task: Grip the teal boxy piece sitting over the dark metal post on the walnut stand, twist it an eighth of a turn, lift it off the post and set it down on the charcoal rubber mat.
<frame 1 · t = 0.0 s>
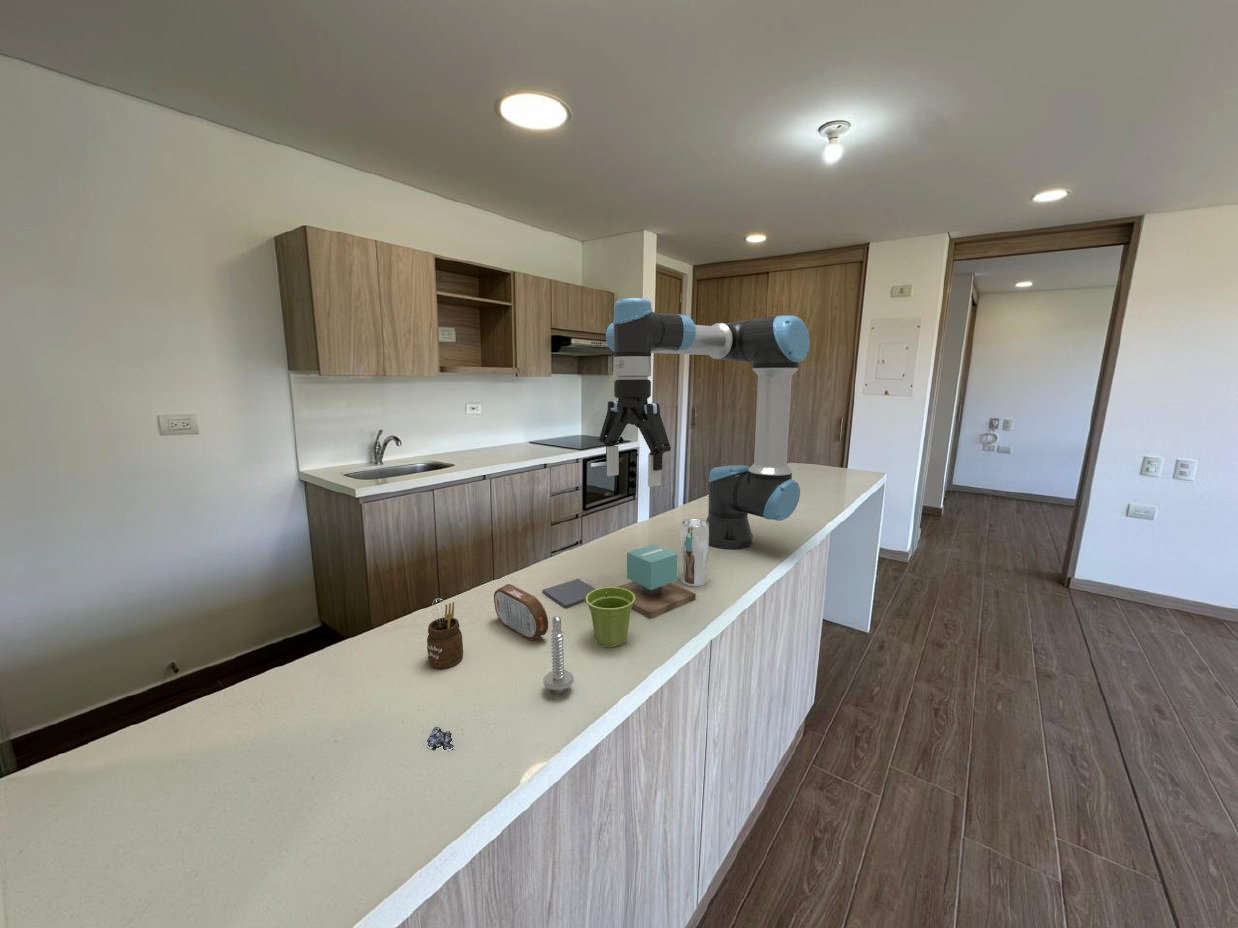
hand: (632, 480, 103), 28 cm above the counter, tool pointing down, fingers open, 13 cm apart
beer glass: (693, 582, 119), on the counter
utensil holder: (446, 661, 87), on the counter
teal boxy piece: (651, 579, 110), point 4 cm above the counter, touching post stand
mat: (572, 594, 112), on the counter
screw: (558, 691, 78), on the counter
tin: (520, 631, 97), on the counter
grey lumpy piece: (445, 743, 68), on the counter
plant pot: (610, 640, 93), on the counter
post stand: (651, 597, 110), on the counter
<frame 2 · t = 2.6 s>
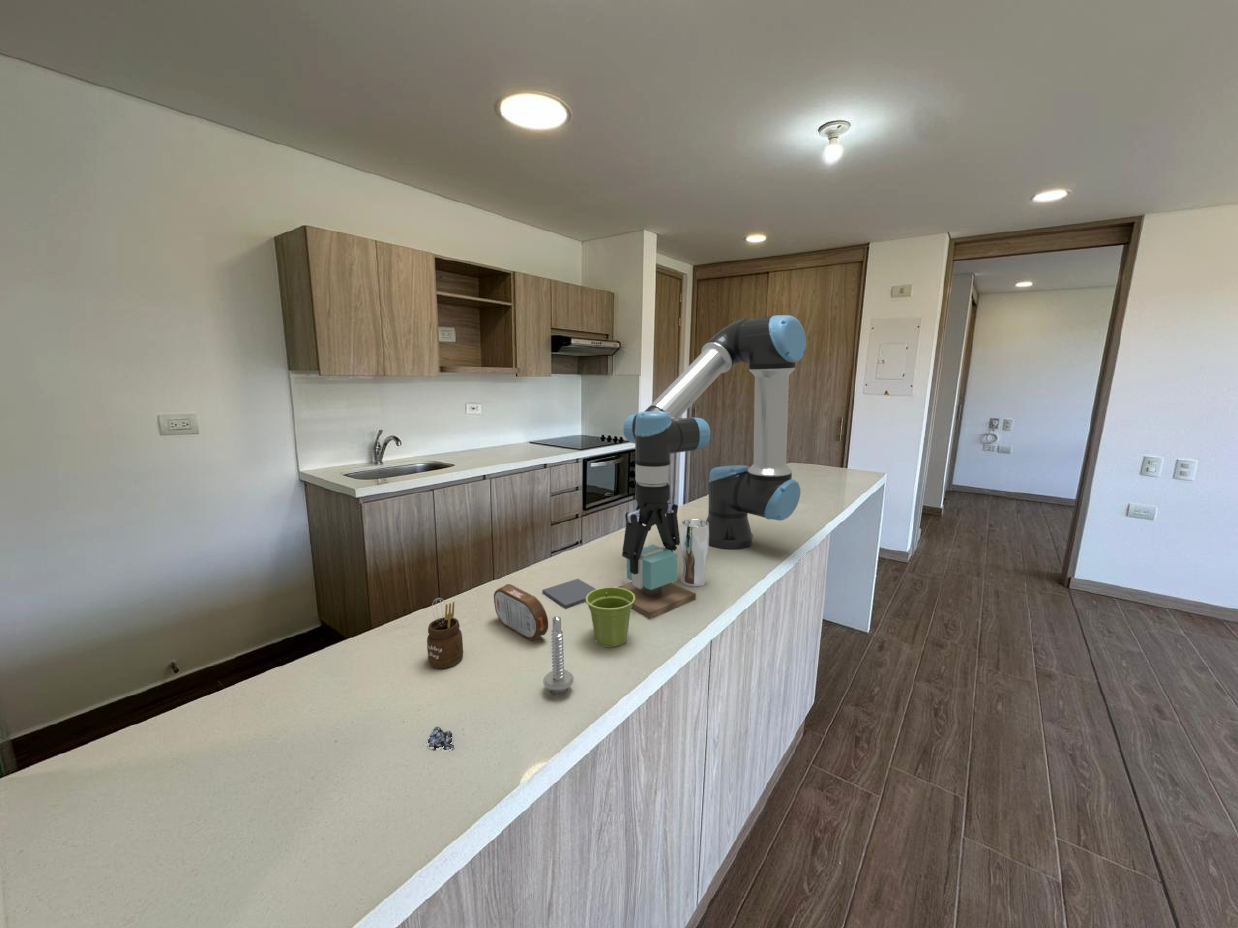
hand: (651, 581, 110), 4 cm above the counter, tool pointing down, fingers closed on teal boxy piece, 8 cm apart
teal boxy piece: (651, 579, 110), point 5 cm above the counter, touching gripper, post stand
everything else where it was.
when the fingers open (2 cm above the counter, at t = 9.7 s): teal boxy piece drops 2 cm, resting on mat.
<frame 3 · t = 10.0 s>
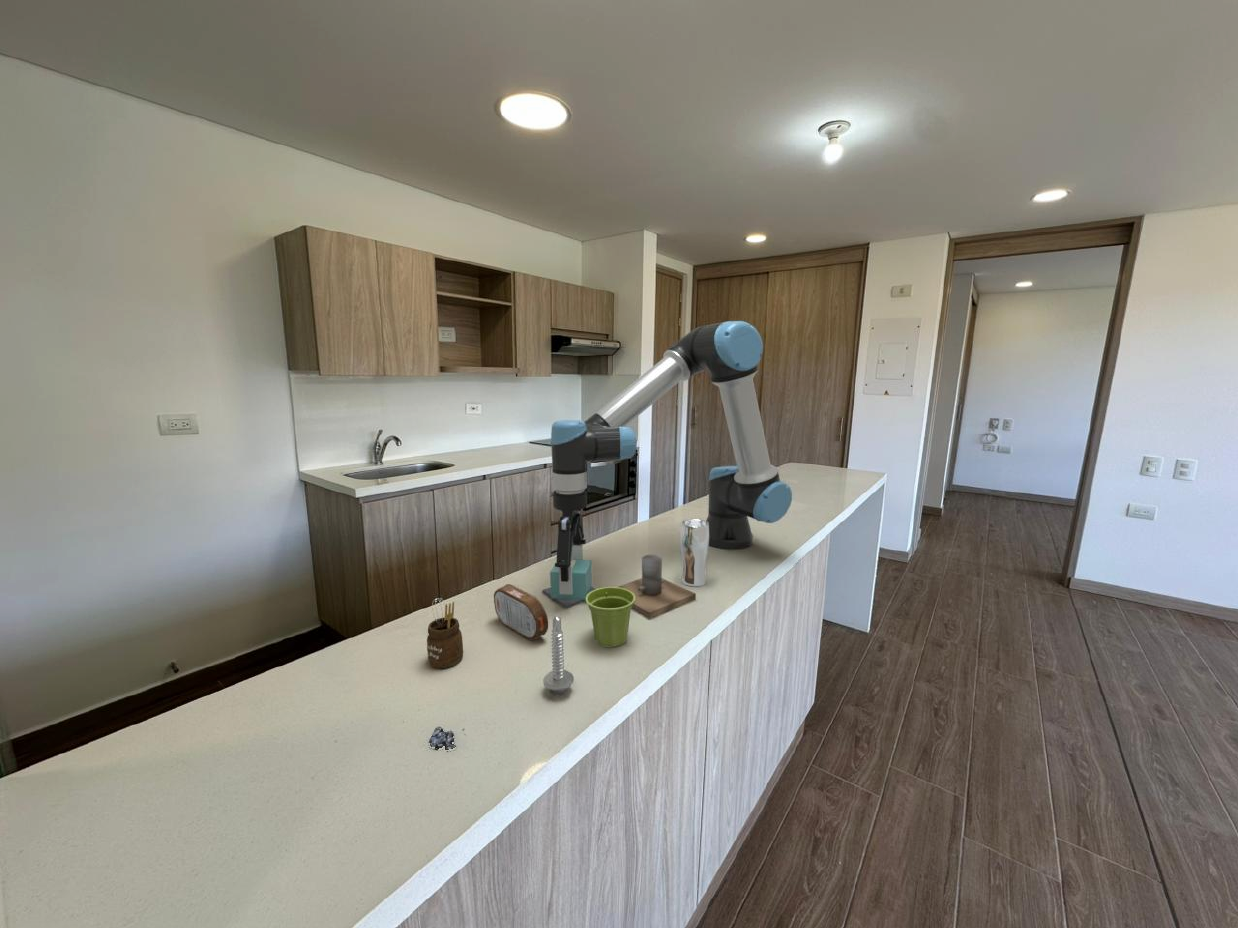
hand: (571, 581, 112), 3 cm above the counter, tool pointing down, fingers open, 12 cm apart
teal boxy piece: (572, 590, 112), point 1 cm above the counter, touching mat
everything else where it was.
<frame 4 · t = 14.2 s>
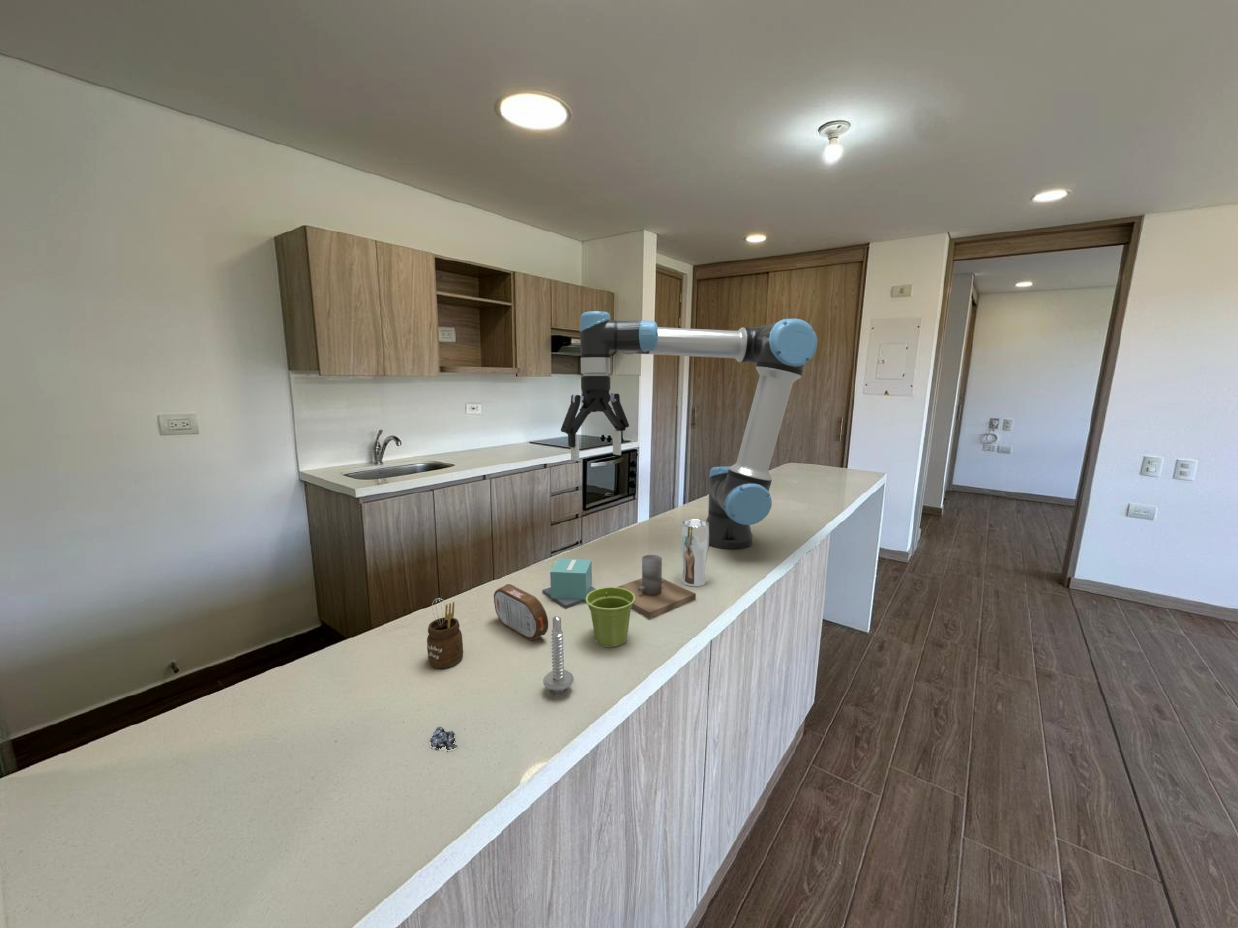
hand: (596, 457, 128), 29 cm above the counter, tool pointing down, fingers open, 13 cm apart
nothing on the counter moved.
at the end: teal boxy piece inside the target area on the mat (0.0 cm from its centre), point 0.8 cm above the mat's base; teal boxy piece tilted 0°; the gripper is holding nothing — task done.
